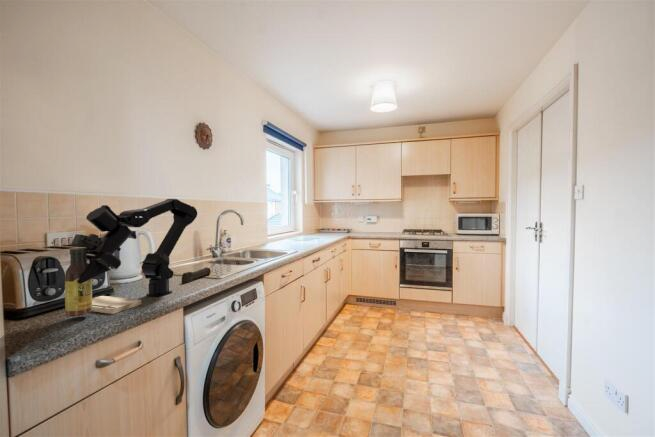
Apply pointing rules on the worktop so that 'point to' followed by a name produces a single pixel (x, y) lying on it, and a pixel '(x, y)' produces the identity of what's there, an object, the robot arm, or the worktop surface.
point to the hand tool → (194, 275)
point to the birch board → (113, 304)
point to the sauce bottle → (77, 285)
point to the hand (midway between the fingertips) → (72, 281)
